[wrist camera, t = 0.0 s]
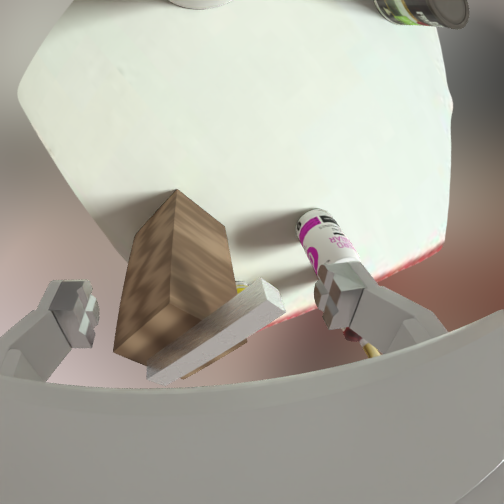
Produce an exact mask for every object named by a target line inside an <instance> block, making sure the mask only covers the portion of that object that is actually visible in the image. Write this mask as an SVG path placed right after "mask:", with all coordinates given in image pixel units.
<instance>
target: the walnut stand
mask: <svg viewBox="0 0 504 504" xmlns="http://www.w3.org/2000/svg"><path fill="white" fill-rule="evenodd" d="M237 294H238V293H237V288H236V283H235V278H234V273H233V267H232V262H231V257H230V251H229V246H228V241H227V235H226V230H225V226H223V225H222V224H221V223H220V222H218V221H217V220H216V219H215V218H213V217H212V216H211V215H210V214H208V213H207V212H206V211H204V210H203V209H202V208H201V207H199V206H198V205H197V204H196V203H194V202H193V201H192V200H191V199H189V198H188V197H187V196H185V195H184V194H183V193H182V192H180V191H179V190H178V189H177V190H176V191H175V192H174V193H173V194H172V195H171V196H170V197H169V198H168V199H167V201H166V202H165V203H164V204H163V205H162V206H161V207H160V208H159V209H158V210H157V211H156V212H155V213H154V215H153V216H152V217H151V218H150V219H149V220H148V221H147V222H146V223H145V225H144V226H143V227H142V228H141V229H140V230H139V231H138V233H137V234H136V235H135V237H134V241H133V245H132V250H131V254H130V258H129V263H128V267H127V272H126V277H125V282H124V286H123V292H122V297H121V302H120V308H119V314H118V320H117V327H116V333H115V341H114V348H113V352H114V353H116V354H119V355H121V356H123V357H126V358H128V359H130V360H133V361H135V362H138V363H140V364H143V365H145V366H147V360H148V359H149V358H151V357H152V356H153V355H155V354H156V353H158V352H159V351H160V350H162V349H163V348H165V347H166V346H167V345H169V344H170V343H172V342H173V341H174V340H176V339H177V338H179V337H180V336H181V335H183V334H184V333H186V332H187V331H188V330H190V329H191V328H192V327H194V326H195V325H197V324H198V323H199V322H201V321H202V320H203V319H205V318H206V317H208V316H209V315H210V314H212V313H213V312H214V311H216V310H217V309H218V308H220V307H221V306H222V305H224V304H225V303H227V302H228V301H229V300H231V299H232V298H233V297H235V296H236V295H237ZM245 343H247V338H246V339H244V340H243V341H241V342H239V343H238V344H236V345H235V346H233V347H231V348H230V349H228V350H226V351H225V352H223V353H222V354H220V355H218V356H217V357H215V358H213V359H212V360H210V361H208V362H207V363H205V364H203V365H201V366H200V367H198V368H196V369H195V370H193V371H191V372H189V373H188V374H186V375H184V376H182V377H181V379H186V378H187V377H189V376H191V375H193V374H195V373H196V372H198V371H200V370H201V369H203V368H205V367H207V366H209V365H210V364H212V363H213V362H215V361H217V360H219V359H220V358H222V357H224V356H225V355H227V354H229V353H230V352H232V351H234V350H235V349H237V348H239V347H240V346H242V345H243V344H245Z"/></svg>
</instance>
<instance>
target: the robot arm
mask: <svg viewBox="0 0 504 504" xmlns="http://www.w3.org/2000/svg"><path fill="white" fill-rule="evenodd" d="M169 1H170V2H172V3H174V4H176V5H179V6H182V7H186V8H191V9H208V8H214V7H218V6H221V5H224V4H227V3H229V2H231V1H233V0H169ZM318 276H319V277H320V279H319V280H318V281H317V282H316V283H315V288H314V299H315V303H316V305H317V307H318V309H320V310H322V311H323V312H324V313H323V316H322V317H323V319H324V321H325V323H326V325H327V327H328V329H329V330H331V329H338V328H345V327H350V329H352V330H353V331H354V332H356V333H357V334H358V335H360V336H361V337H362V338H363V339H365V340H366V341H367V342H369V343H370V344H371V345H372V346H374V347H375V348H376V349H378V350H379V351H380V352H382V353H383V355H380V356H376V357H373V358H369V359H365V360H361V361H358V362H354V363H350V364H345V365H341V366H337V367H332V368H328V369H323V370H318V371H313V372H308V373H303V374H298V375H293V376H287V377H280V378H274V379H267V380H260V381H253V382H244V383H237V384H227V385H215V386H202V387H187V388H156V389H133V388H132V389H131V388H129V389H128V388H102V387H85V386H74V385H64V384H55V383H47V382H46V381H47V380H48V378H49V377H50V376H51V374H52V373H53V372H54V371H55V369H56V368H57V367H58V366H59V364H60V363H61V362H62V360H63V359H64V358H65V357H66V355H67V354H68V353H69V352H70V351H71V348H92V345H93V341H94V337H95V332H94V330H93V328H94V327H95V326H97V325H98V321H99V306H98V302H97V299H96V298H95V297H94V296H93V295H91V292H92V289H93V288H92V286H91V283H90V281H88V280H53V281H51V282H50V284H49V286H48V287H47V289H46V291H45V293H44V295H43V297H42V299H41V301H40V303H39V305H38V308H37V309H36V310H33V311H31V312H30V313H29V314H28V315H26V316H25V317H24V318H23V319H21V321H19V322H18V323H17V324H15V325H14V326H13V327H12V328H11V329H10V330H8V331H7V332H6V333H5V334H4V335H2V336H1V337H0V504H504V310H500V311H497V312H495V313H493V314H491V315H489V316H487V317H484V318H482V319H480V320H478V321H475V322H473V323H471V324H468V325H466V326H464V327H461V328H459V329H456V330H454V331H452V332H449V333H448V331H447V330H446V329H445V327H444V326H443V325H442V324H441V322H440V321H439V320H438V318H437V317H436V316H435V314H434V313H433V312H432V311H430V310H428V309H426V308H424V307H422V306H420V305H418V304H416V303H415V302H413V301H411V300H409V299H407V298H405V297H403V296H401V295H399V294H397V293H395V292H394V291H391V290H390V289H388V288H386V287H383V286H379V285H378V284H377V283H376V281H375V280H374V279H373V277H372V276H371V275H370V274H369V272H368V271H367V270H366V269H365V267H364V266H363V265H362V264H361V262H359V261H349V262H344V263H333V264H322V265H320V267H319V270H318Z"/></svg>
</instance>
